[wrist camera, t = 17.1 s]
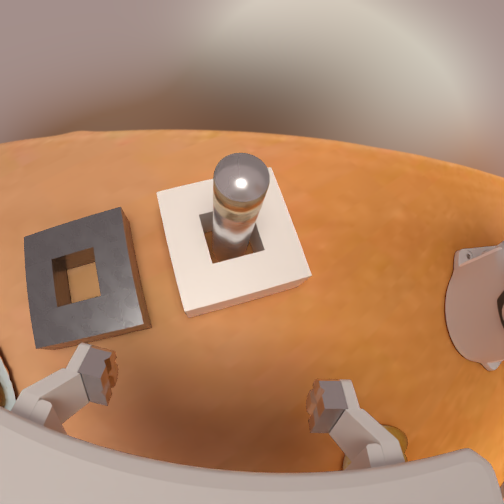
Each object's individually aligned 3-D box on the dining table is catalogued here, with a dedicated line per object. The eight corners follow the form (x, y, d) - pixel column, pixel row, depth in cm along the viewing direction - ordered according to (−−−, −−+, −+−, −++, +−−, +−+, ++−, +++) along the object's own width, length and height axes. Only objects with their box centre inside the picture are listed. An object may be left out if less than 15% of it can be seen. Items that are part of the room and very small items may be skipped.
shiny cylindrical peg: (240, 229, 35) (260, 148, 21) (250, 260, 34) (278, 193, 20) (207, 237, 34) (207, 158, 20) (216, 269, 33) (221, 206, 19)
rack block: (263, 190, 37) (270, 167, 32) (297, 286, 34) (311, 275, 29) (162, 213, 35) (156, 192, 30) (188, 317, 31) (184, 311, 27)
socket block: (129, 222, 34) (120, 206, 30) (151, 327, 31) (143, 323, 27) (39, 248, 31) (23, 237, 28) (53, 350, 28) (36, 348, 24)
